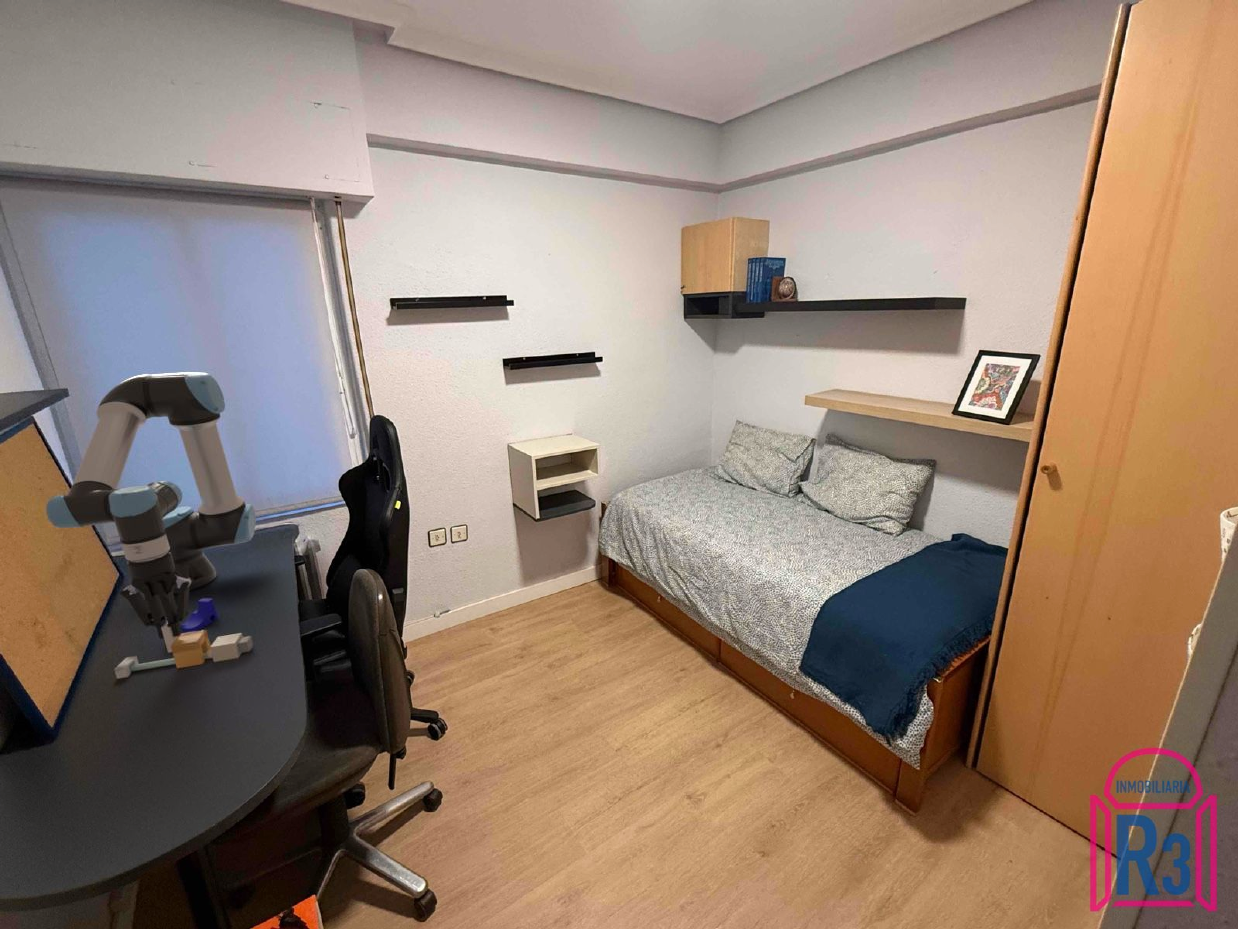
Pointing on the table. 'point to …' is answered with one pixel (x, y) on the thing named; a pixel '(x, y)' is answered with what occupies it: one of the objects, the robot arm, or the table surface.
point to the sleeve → (190, 648)
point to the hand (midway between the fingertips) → (174, 648)
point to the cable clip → (200, 616)
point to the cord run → (218, 651)
